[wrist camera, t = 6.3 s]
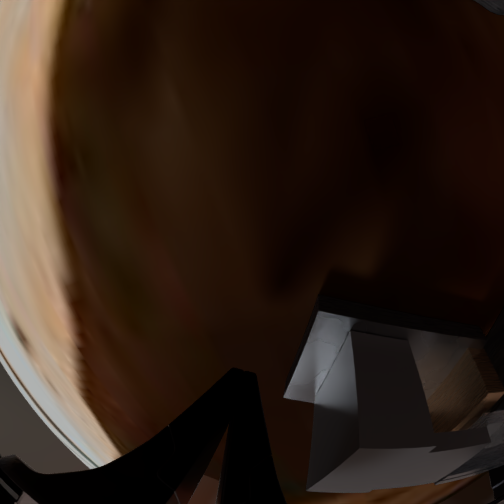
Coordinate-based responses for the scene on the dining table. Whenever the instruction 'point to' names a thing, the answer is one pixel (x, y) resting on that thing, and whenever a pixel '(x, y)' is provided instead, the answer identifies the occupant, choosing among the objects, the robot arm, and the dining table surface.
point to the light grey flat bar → (492, 426)
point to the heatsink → (472, 399)
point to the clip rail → (381, 324)
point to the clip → (380, 423)
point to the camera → (493, 5)
